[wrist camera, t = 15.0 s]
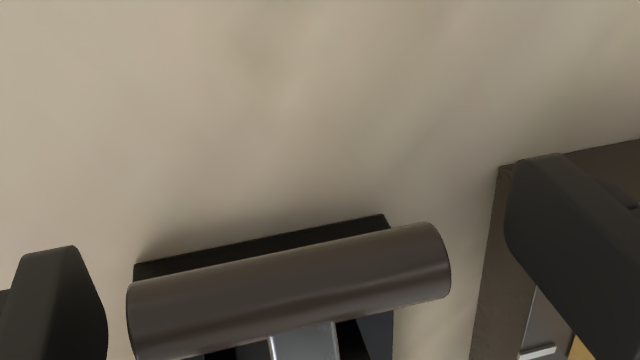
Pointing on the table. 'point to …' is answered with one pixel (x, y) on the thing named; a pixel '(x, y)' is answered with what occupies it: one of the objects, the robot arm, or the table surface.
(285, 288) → the grey lever handle
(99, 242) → the table surface
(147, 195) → the table surface
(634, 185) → the lock plate
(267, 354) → the lever bracket
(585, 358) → the lock knob
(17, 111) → the table surface
